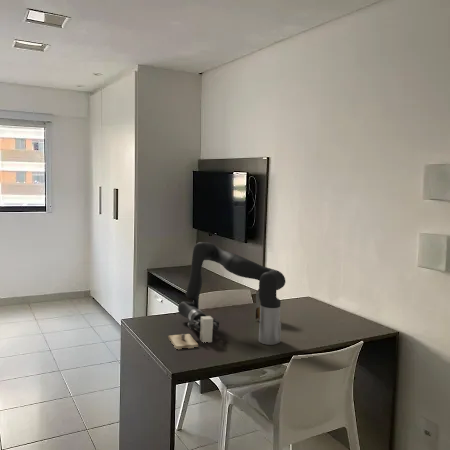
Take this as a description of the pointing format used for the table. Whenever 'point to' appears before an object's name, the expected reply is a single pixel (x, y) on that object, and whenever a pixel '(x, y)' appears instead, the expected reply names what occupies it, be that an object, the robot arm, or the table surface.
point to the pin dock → (182, 341)
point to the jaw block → (206, 329)
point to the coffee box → (257, 306)
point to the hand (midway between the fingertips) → (208, 329)
